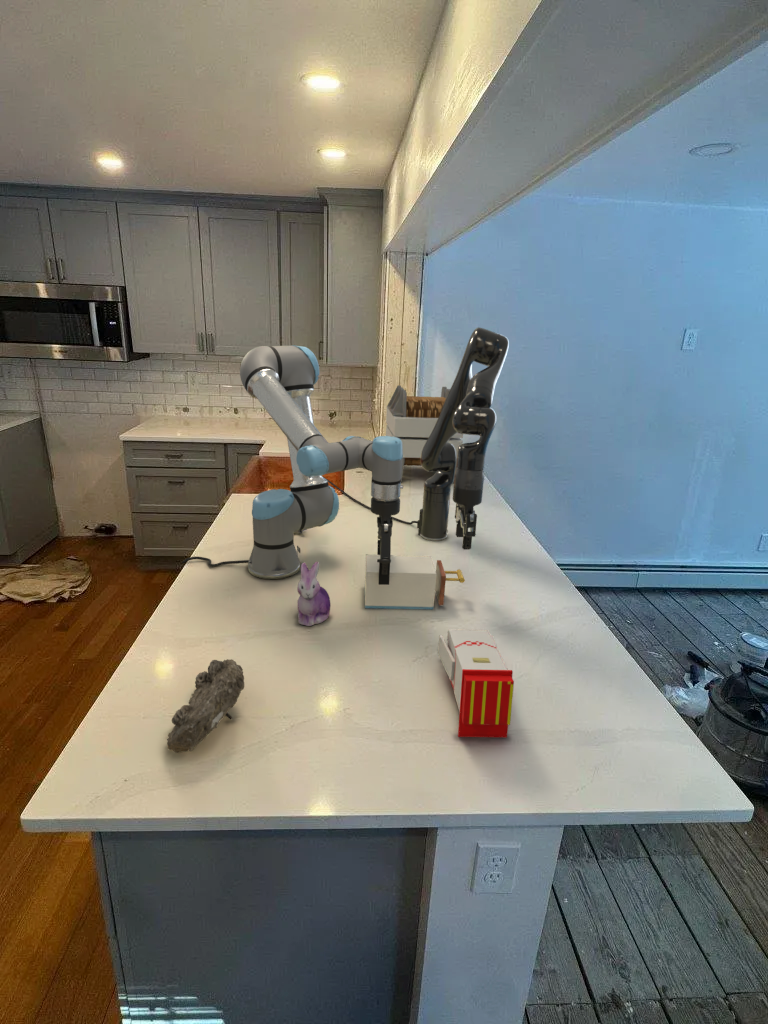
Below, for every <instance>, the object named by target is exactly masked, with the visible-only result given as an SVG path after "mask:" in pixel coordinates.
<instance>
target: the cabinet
mask: <svg viewBox="0 0 768 1024" xmlns="http://www.w3.org/2000/svg"><path fill="white" fill-rule="evenodd" d="M377 559H380V555H377V554H365V568H364V609H388V610H389V609H390V610H434V608H435V597H436V592H435V584H436V566H435V564H434V560H433V557H432V555H408V554H407V555H405V554H403V555H401V554H391V556H390V559H391V563H390V576H389V585H379V562H377Z"/></svg>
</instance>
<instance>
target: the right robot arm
mask: <svg viewBox="0 0 768 1024" xmlns="http://www.w3.org/2000/svg"><path fill="white" fill-rule="evenodd" d="M509 346H510V341H509V339H508V337H507V336H505V335H503V334H500V333H498V332H496V331H492V330H489V329H486V328H483V327H479V326H478V327H476V328H475V329H474V330H473V332H472V333H471V335H470V337H469V339H468V342H467V345H466V347H465V350H464V353H463V356H462V359H461V362H460V364H459V367H458V371H457V372H456V375H455V378H454V380H453V382H452V385H451V387H450V388H449V389H450V391H449V393H448V395H447V398H446V400H445V402H444V405H443V408H442V410H441V413H440V415H439V418H438V420H437V422H436V424H435V426H434V429H433V430H432V432H431V434H430V436H429V438H428V440H427V441H426V443H425V445H424V447H423V449H422V452H421V459H420V461H421V466H420V467H422V469H423V470H424V471H426V472H434V473H433V475H431V476H429V477H428V478H426V479H425V480H424V482H423V493H422V496H423V497H422V506H421V508H420V509H419V516H418V520H412V521H411V522H410V521H409V522H408V521H406V520H402V519H399V518H397V517H394V516H393V515H392V516H390V517H392V520H393V521H397V522H400V523H402V524H405V525H413V524H416V528H417V529H418V530H417V535H418V536H420V538H421V539H424V540H426V541H432V542H440V541H444V540H446V539H447V538H448V532H449V529H448V525H449V517H450V516H449V514H450V504H451V494H452V502H454V503H455V510H454V511H455V512H454V519H455V523H456V527H455V536H456V538H462V545H461V548H462V550H463V551H464V550H471V549H472V543H473V537H476V535H477V534H476V533H477V519H478V514H477V513H476V510H474V507H475V506H479V505H481V503H483V502H482V501H483V491H484V481H485V463H486V462H485V461H486V453H487V449H488V445H489V442H490V440H491V437H492V435H493V432H494V430H495V428H496V425H497V413H496V412H495V410H494V409H493V408H491V407H492V404H493V400H494V394H495V389H496V385H497V382H498V379H499V377H500V375H501V372H502V369H503V366H504V363H505V361H506V358H507V355H508V352H509ZM473 363H477V364H480V365H483V366H485V367H486V368H483V369H482V370H480V371H478V372H477V373H474V375H473ZM457 432H458V433H460V434H463V435H469V436H479V438H478V439H477V440H476V441H472V442H465V443H462V444H461V445H460V446H459V447H458V452H457V464H456V451H455V448H454V446H453V445H452V444H451V443H447V441H448V440H449V439H450V438H451V437H452V436H454V435H455V434H456V433H457ZM455 466H456V471H455ZM454 473H455V476H454ZM324 478H325V479H326V480H328V484H330V485H331V486H332V487H333V488H336V489H337V490H338V491H340V492H341V493H342V494H343V495H345V496H346V497H348V498H349V499H351V501H354V502H355V503H357V504H359V505H360V506H362V507H364V508H365V509H368V510H370V511H371V506H368V505H366V504H364V503H362V502H361V501H360V500H357V499H356V498H354V497H353V496H352V495H350V494H348V493H347V492H346V491H344V490H343V489H341V488H340V487H338V486H337V485H336V484H334V483H333V482H332V481H330V480H329V479H328V478H326V477H324ZM453 480H454V483H453ZM452 486H453V488H452ZM451 491H452V493H451Z"/></svg>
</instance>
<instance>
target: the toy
mask: <svg viewBox="0 0 768 1024" xmlns="http://www.w3.org/2000/svg"><path fill="white" fill-rule="evenodd" d="M446 640H447V643H446V641H445V639H444V636H443V635H442V634H439V637H438V646H437V656H438V657H439V659H440V661H441V663H442V666H443V668H444V670H445V672H446V674H447V677H448V679H449V681H450V684H451V687H452V690H453V693H454V697H455V701H456V705H457V708H458V711H459V714H458V715H459V716H458V730H457V731H458V732H457V737H458V738H508V731H509V726H510V725H511V717H512V707H513V697H514V696H513V695H514V684H515V680H514V679H513V673H514V671H513V670H512V669H508V667H507V665H506V662H505V661H504V659H503V658H502V655H501V653H500V651H499V649H498V647H497V643H496V639H495V637H494V635H493V634H491V632H490V631H489V629H467V628H466V629H465V628H463V629H461V628H460V629H459V628H448V630H447V639H446Z"/></svg>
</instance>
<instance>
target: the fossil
mask: <svg viewBox="0 0 768 1024" xmlns="http://www.w3.org/2000/svg"><path fill="white" fill-rule="evenodd" d="M243 670H244V669H243V667H242V665H240V664H237V662H236V661H235V660H234V659H232V658H231V659H227V658H226V659H224V660H223V661H222V660H217V659H212V660H211V661H210V663H209V665H208V666H207V671H201V672H199V673H198V674H197V675H196V676H195V680H194V684H195V685H194V687H195V689H194V690H193V693H192V694H191V697H190V698H189V700H188V704H184V705H182V706H181V707H180V709H177V710H176V711H175V713H174V715H173V716H172V718H171V723H172V724H173V727H172V730H171V731H170V732H168V734H167V738H166V741H167V742H166V745H167V749H168V750H169V751H173V752H174V753H176V754H178V753H182V752H188V751H189V752H192V751H193V750H195V748H196V747H197V746H199V744H200V743H201V742H203V741H204V740H205V739H206V738H207V737H208V736H209V735H210V734H211V733H212V732H214V730H215V729H217V727H218V726H219V724H220V722H221V721H222V720H223V719H224V718H225V716H226V717H227V719H229V720H233V717H232V715H230V714H229V710H230V709H231V708H234V706H235V704H236V703H237V702H238V699H239V697H240V695H241V693H242V691H243V690H245V689H244V688H245V675H244V671H243Z"/></svg>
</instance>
